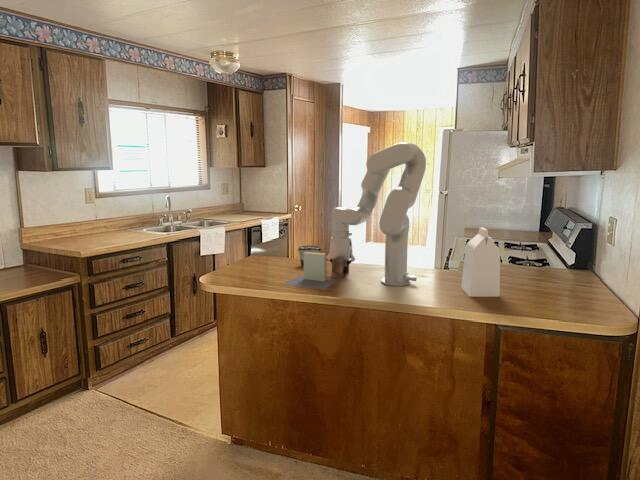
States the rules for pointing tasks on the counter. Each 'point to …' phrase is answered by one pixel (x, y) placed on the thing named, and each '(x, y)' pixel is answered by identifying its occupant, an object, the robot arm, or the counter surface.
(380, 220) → the robot arm
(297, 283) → the mat
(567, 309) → the counter surface
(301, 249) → the food container
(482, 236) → the milk
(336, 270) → the pusher block
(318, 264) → the tile
